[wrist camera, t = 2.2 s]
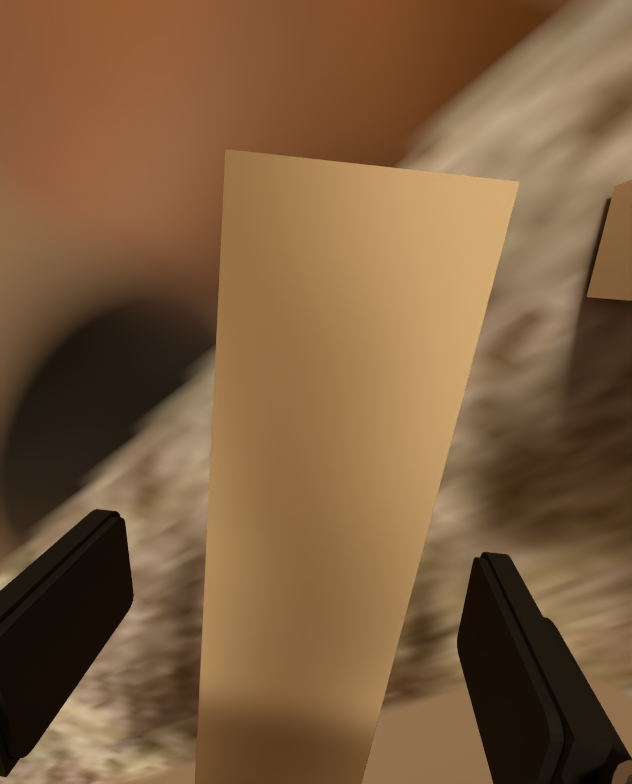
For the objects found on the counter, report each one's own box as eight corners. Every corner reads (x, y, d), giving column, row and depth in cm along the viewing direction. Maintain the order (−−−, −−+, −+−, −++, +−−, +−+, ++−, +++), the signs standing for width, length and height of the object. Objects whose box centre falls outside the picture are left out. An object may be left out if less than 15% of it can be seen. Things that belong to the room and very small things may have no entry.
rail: (430, 237, 12) (519, 181, 5) (342, 660, 17) (328, 906, 10) (303, 222, 12) (225, 149, 5) (257, 642, 17) (190, 868, 11)
